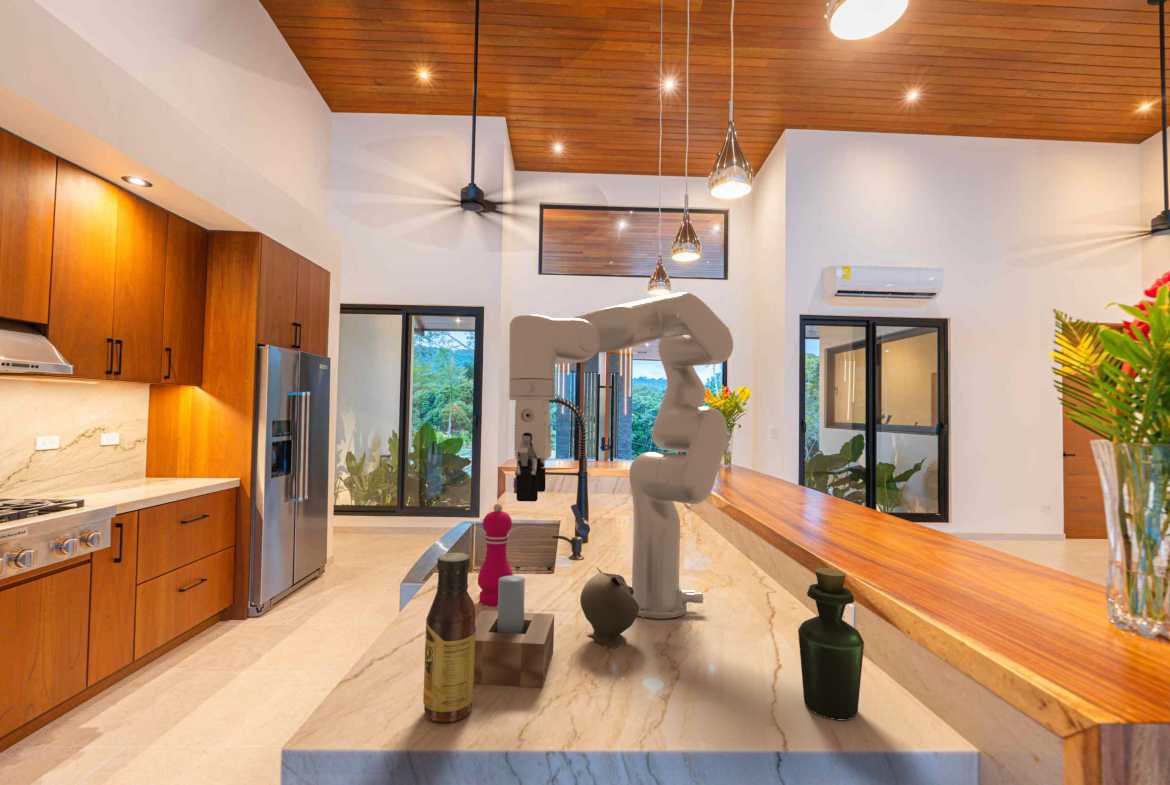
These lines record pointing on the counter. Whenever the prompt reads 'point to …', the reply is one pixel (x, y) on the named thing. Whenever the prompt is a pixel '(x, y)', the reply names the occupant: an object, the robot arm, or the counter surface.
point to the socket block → (513, 651)
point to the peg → (511, 604)
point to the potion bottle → (831, 650)
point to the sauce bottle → (450, 643)
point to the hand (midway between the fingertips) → (531, 495)
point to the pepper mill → (494, 555)
